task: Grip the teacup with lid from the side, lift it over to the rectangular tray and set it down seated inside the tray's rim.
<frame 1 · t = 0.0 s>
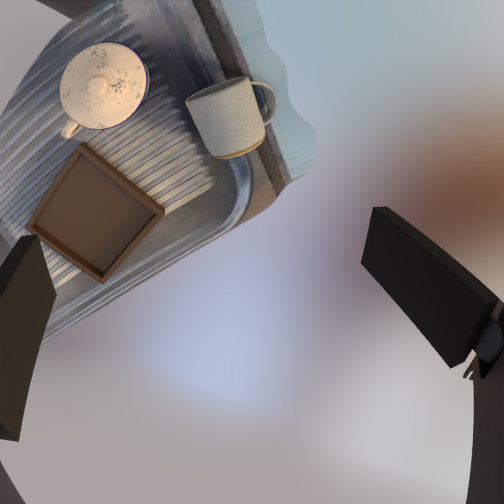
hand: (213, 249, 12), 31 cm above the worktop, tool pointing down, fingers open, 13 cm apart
ceramic mug: (231, 107, 38), on the worktop
rectangular tray: (92, 215, 40), on the worktop
teacup with lid: (107, 92, 33), on the worktop
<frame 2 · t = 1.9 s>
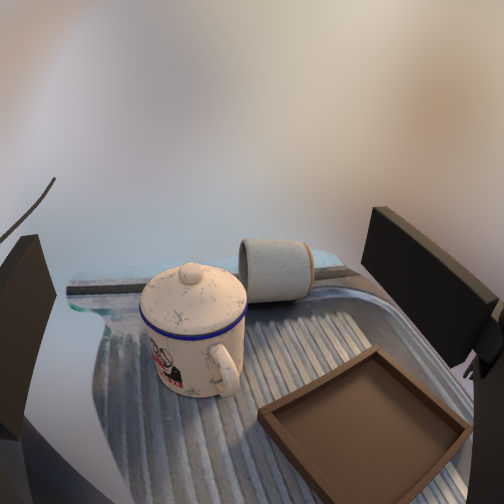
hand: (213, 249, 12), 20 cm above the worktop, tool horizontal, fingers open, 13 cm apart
ceramic mug: (267, 289, 42), on the worktop
rectangular tray: (370, 436, 24), on the worktop
teacup with lid: (205, 376, 30), on the worktop
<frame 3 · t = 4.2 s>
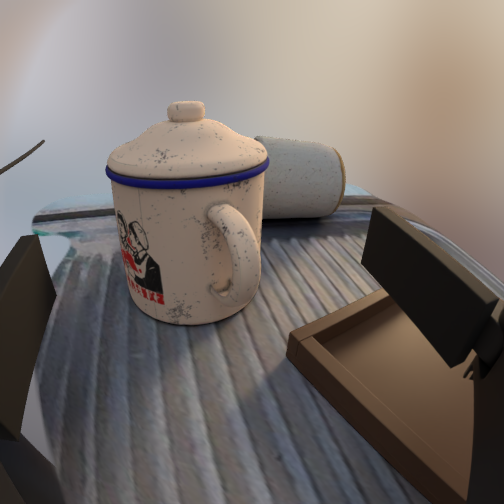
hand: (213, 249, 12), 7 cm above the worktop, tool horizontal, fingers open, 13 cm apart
ceramic mug: (283, 211, 33), on the worktop
rectangular tray: (460, 375, 14), on the worktop
teacup with lid: (201, 298, 21), on the worktop
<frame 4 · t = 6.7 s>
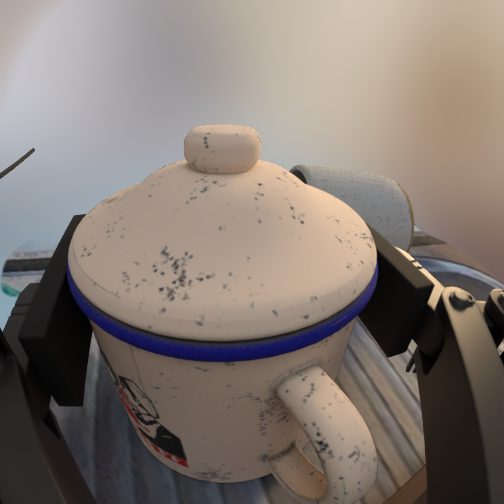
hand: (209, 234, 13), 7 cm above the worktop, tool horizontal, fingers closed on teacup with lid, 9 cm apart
ceramic mug: (326, 261, 25), on the worktop
teacup with lid: (238, 427, 13), on the worktop, touching gripper
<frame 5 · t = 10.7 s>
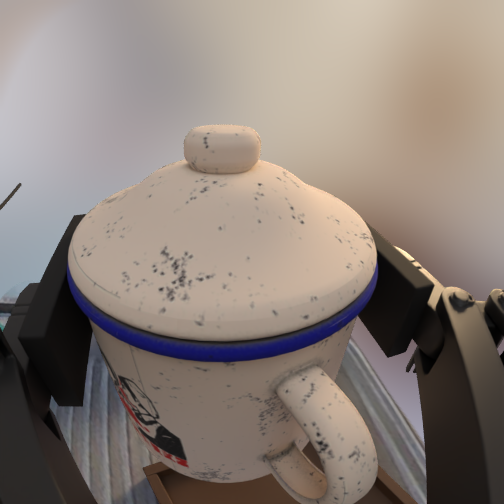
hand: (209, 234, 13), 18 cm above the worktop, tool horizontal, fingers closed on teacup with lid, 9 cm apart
teacup with lid: (238, 427, 13), point 11 cm above the worktop, touching gripper
when the fingers open (8 cm above the worktop, at t = 14.6 s): teacup with lid stays where it is, resting on rectangular tray.
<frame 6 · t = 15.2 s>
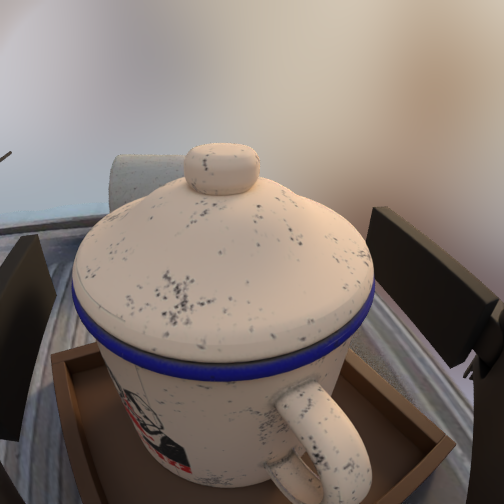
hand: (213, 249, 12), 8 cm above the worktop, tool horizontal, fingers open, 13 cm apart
ceramic mug: (159, 226, 32), on the worktop
rectangular tray: (233, 438, 13), on the worktop
teacup with lid: (240, 433, 13), resting on rectangular tray
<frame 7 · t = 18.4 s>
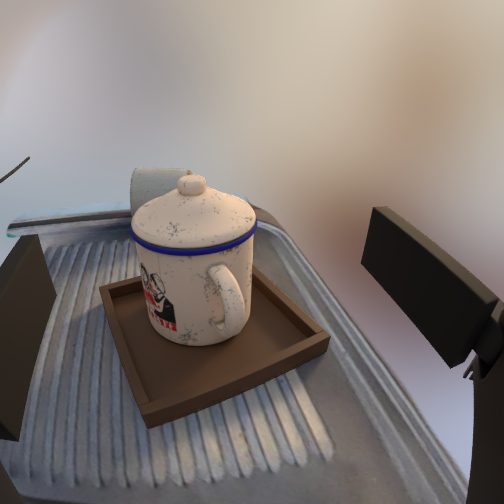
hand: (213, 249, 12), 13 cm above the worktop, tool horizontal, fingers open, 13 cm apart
ceramic mug: (163, 218, 45), on the worktop
rectangular tray: (202, 328, 26), on the worktop
teacup with lid: (205, 324, 26), resting on rectangular tray
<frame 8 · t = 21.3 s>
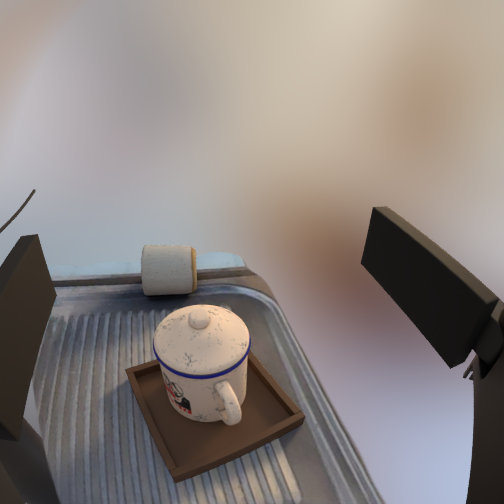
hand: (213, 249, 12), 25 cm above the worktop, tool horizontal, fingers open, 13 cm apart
ceramic mug: (170, 285, 51), on the worktop
rectangular tray: (209, 404, 33), on the worktop
teacup with lid: (212, 401, 32), resting on rectangular tray
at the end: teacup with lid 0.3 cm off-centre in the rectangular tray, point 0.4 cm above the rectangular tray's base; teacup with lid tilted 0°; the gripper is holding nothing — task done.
